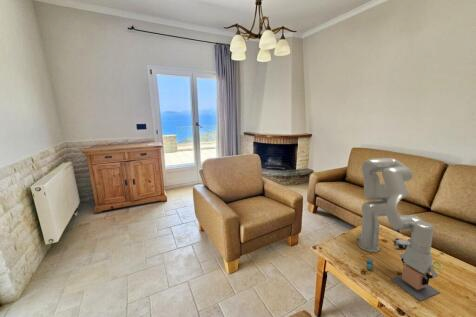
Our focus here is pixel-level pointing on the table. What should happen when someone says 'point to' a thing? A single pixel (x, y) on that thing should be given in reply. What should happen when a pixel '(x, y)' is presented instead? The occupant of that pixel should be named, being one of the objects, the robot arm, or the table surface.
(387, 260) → the table surface
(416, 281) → the brown cube
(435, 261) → the key
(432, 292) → the charcoal mat
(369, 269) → the teal marble
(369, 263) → the teal marble
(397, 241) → the robot toy
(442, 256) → the table surface
